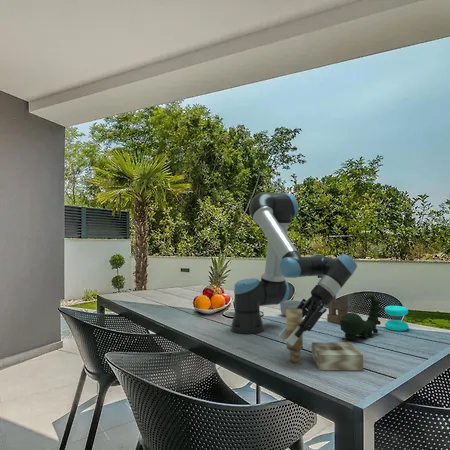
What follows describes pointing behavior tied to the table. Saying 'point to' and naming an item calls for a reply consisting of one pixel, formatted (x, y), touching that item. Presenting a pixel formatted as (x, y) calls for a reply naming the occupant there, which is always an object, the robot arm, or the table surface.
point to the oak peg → (291, 324)
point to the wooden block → (342, 309)
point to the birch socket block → (337, 356)
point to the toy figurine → (362, 321)
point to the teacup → (289, 305)
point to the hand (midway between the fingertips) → (285, 340)
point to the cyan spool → (396, 324)
